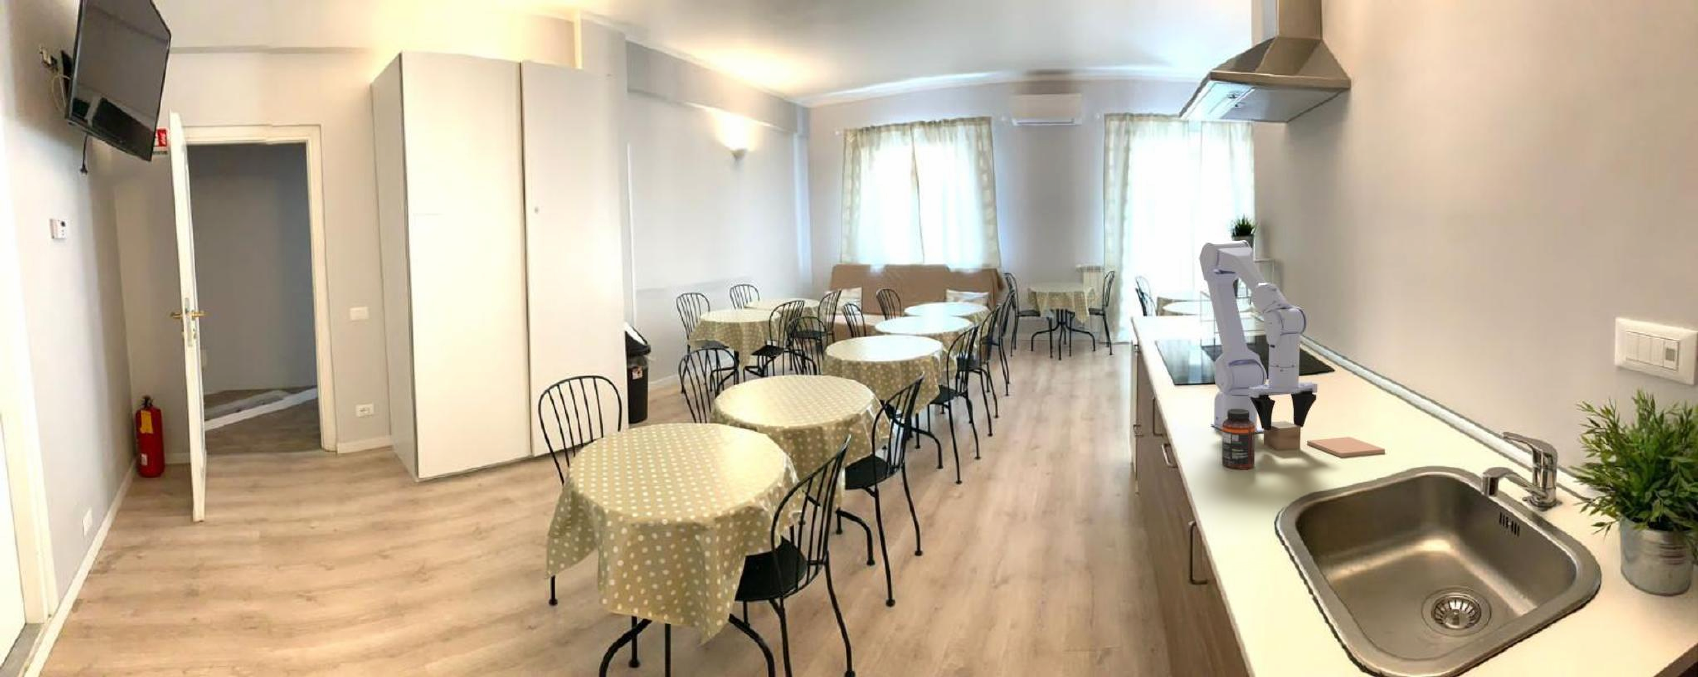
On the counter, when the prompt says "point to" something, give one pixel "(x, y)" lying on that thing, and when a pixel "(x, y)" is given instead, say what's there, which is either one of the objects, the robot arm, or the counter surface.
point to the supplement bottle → (1238, 440)
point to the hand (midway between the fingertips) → (1282, 427)
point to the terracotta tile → (1345, 446)
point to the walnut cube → (1283, 436)
